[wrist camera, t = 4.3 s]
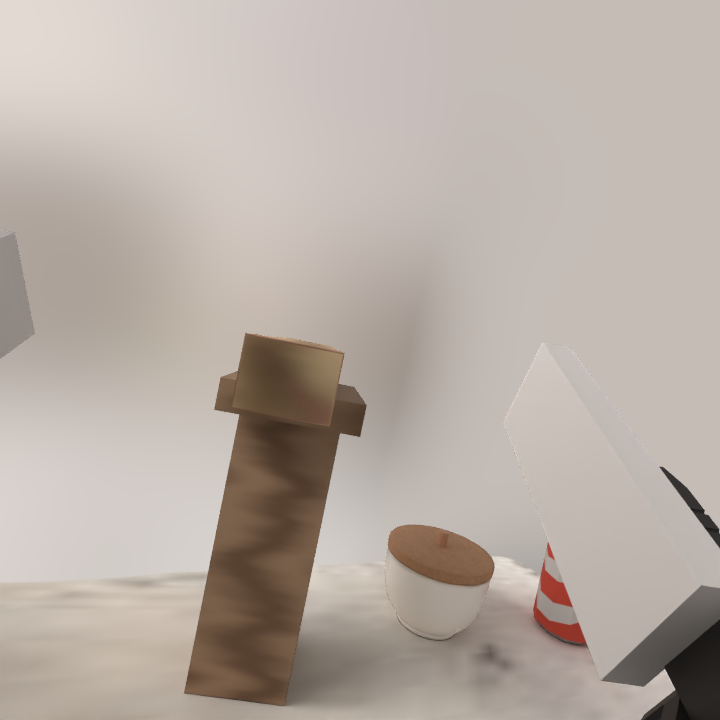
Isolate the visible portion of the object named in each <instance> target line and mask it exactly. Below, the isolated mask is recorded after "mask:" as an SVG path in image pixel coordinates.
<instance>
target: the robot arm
mask: <svg viewBox="0 0 720 720" xmlns="http://www.w3.org/2000/svg"><path fill="white" fill-rule="evenodd" d="M34 333H35V332H34V327H33V322H32V317H31V312H30V307H29V302H28V296H27V292H26V286H25V281H24V277H23V271H22V266H21V261H20V255H19V251H18V245H17V240H16V235H15V232H10V231H6V230H1V229H0V358H2V357H3V356H5V355H6V354H7V353H9V352H10V351H12V350H13V349H14V348H16V347H17V346H18V345H20V344H21V343H23V342H24V341H25V340H27V339H28V338H29V337H31V336H32V335H33V334H34ZM503 423H504V426H505V429H506V431H507V434H508V437H509V440H510V442H511V445H512V447H513V450H514V453H515V455H516V458H517V460H518V463H519V466H520V469H521V471H522V474H523V477H524V479H525V482H526V484H527V487H528V490H529V492H530V495H531V498H532V500H533V503H534V505H535V508H536V511H537V513H538V516H539V519H540V521H541V524H542V526H543V529H544V532H545V534H546V537H547V540H548V543H549V545H550V548H551V550H552V553H553V556H554V558H555V561H556V564H557V566H558V569H559V572H560V574H561V577H562V579H563V582H564V585H565V587H566V590H567V593H568V595H569V598H570V601H571V603H572V606H573V609H574V611H575V614H576V616H577V619H578V622H579V624H580V627H581V630H582V632H583V635H584V638H585V640H586V643H587V646H588V648H589V651H590V653H591V656H592V659H593V661H594V664H595V667H596V669H597V672H598V675H599V677H600V680H601V681H608V682H615V683H622V684H629V685H636V686H643V687H644V686H645V685H646V684H647V683H648V682H650V681H651V680H652V679H653V678H654V677H656V676H657V675H658V674H659V673H660V672H661V671H663V670H664V669H666V671H667V673H668V675H669V677H670V679H671V681H672V683H673V685H674V687H675V689H676V690H675V691H674V692H672V693H671V694H670V695H669V696H667V697H666V698H665V699H664V700H662V701H661V702H660V703H658V704H657V705H656V706H655V707H653V708H652V709H651V710H650V711H648V712H647V713H646V714H644V716H643V718H642V719H641V720H720V534H719V528H718V527H717V526H716V525H715V523H714V522H713V521H712V519H711V518H710V517H709V515H705V514H704V511H705V510H704V509H703V508H702V507H701V505H700V504H699V503H698V501H697V500H696V499H695V497H694V496H693V495H692V494H691V492H690V491H689V490H688V489H687V488H686V487H685V486H684V485H683V484H682V483H681V482H680V481H678V480H677V479H676V478H675V477H674V476H673V475H672V474H670V473H669V472H668V471H667V470H666V469H665V468H663V467H659V466H658V465H657V463H656V462H655V461H654V459H653V458H652V457H651V456H650V454H649V453H648V451H647V450H646V449H645V447H644V446H643V445H642V443H641V442H640V441H639V439H638V438H637V437H636V435H635V434H634V433H633V431H632V430H631V428H630V427H629V426H628V425H627V423H626V422H625V420H624V419H623V418H622V416H621V415H620V414H619V412H618V411H617V410H616V408H615V407H614V406H613V404H612V403H611V402H610V400H609V399H608V398H607V396H606V395H605V393H604V392H603V391H602V389H601V388H600V387H599V386H598V384H597V383H596V381H595V380H594V379H593V377H592V376H591V375H590V373H589V372H588V371H587V370H586V368H585V367H584V365H583V364H582V363H581V361H580V360H579V359H578V357H577V356H576V355H575V353H574V352H573V351H572V349H571V348H570V347H566V346H561V345H555V344H551V343H546V342H542V344H541V346H540V348H539V350H538V352H537V355H536V356H535V359H534V360H533V362H532V364H531V367H530V368H529V370H528V372H527V375H526V377H525V379H524V381H523V383H522V385H521V387H520V389H519V391H518V393H517V395H516V397H515V399H514V401H513V403H512V405H511V407H510V409H509V411H508V413H507V415H506V417H505V419H504V421H503Z"/></svg>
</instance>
